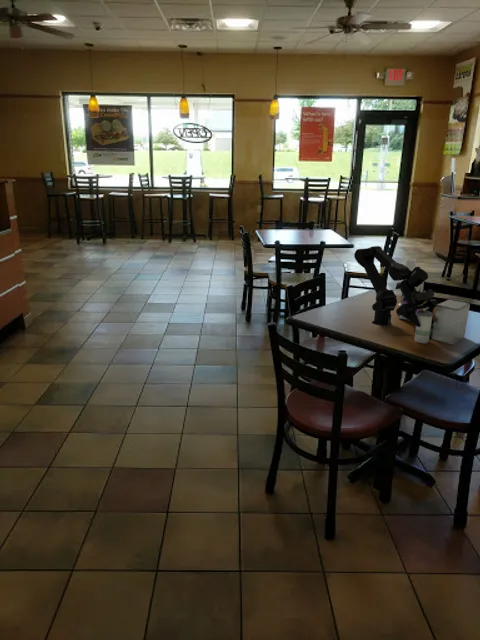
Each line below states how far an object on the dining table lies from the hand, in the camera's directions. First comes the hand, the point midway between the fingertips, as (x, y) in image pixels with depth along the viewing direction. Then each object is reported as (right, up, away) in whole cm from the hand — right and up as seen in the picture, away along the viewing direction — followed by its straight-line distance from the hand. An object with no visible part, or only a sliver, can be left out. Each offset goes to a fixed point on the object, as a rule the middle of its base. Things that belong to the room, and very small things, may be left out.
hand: (426, 325), depth 196 cm
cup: (-1, -6, +3) cm, 7 cm away
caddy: (+12, -5, +7) cm, 15 cm away
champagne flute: (+10, +10, +53) cm, 55 cm away
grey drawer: (+6, -3, +13) cm, 14 cm away
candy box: (+5, +4, +34) cm, 35 cm away
